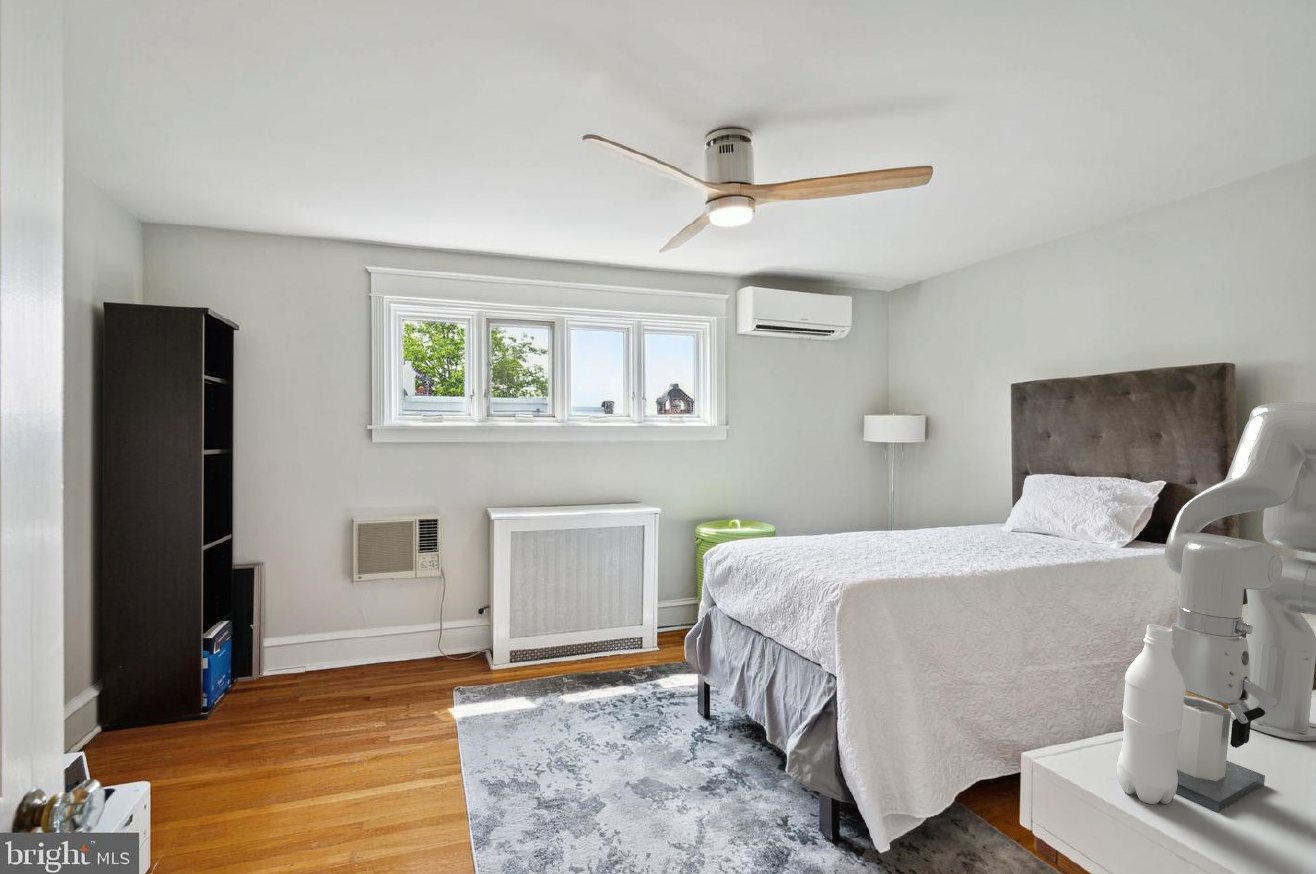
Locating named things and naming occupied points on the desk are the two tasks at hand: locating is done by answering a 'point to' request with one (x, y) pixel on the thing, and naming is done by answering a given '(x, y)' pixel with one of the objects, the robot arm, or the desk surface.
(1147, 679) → the water bottle
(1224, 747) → the white hollow octagonal tube
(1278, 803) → the desk surface
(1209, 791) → the roll holder
